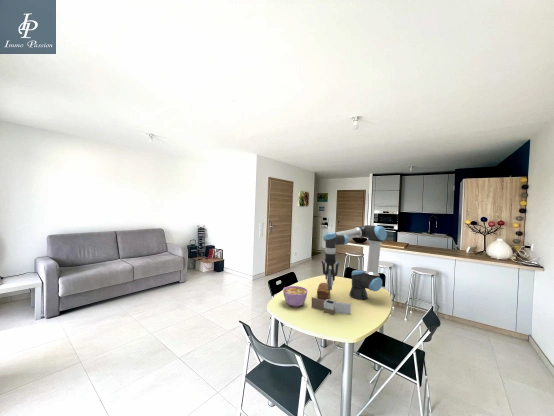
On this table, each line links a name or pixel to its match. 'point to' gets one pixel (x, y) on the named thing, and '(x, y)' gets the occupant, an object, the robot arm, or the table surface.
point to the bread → (323, 291)
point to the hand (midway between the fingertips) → (330, 284)
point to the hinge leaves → (331, 306)
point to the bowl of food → (295, 295)
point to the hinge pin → (329, 279)
